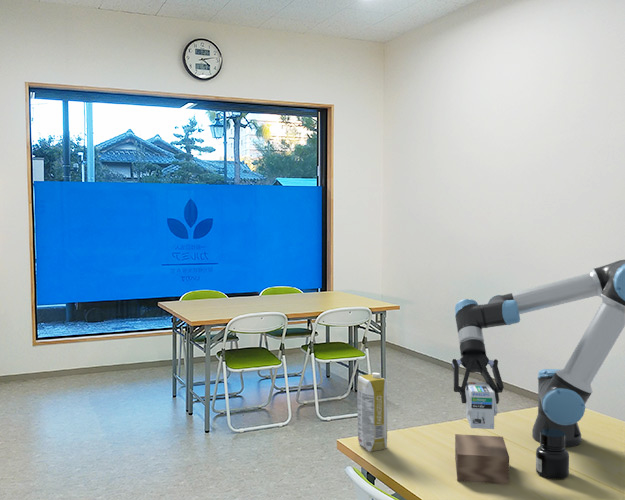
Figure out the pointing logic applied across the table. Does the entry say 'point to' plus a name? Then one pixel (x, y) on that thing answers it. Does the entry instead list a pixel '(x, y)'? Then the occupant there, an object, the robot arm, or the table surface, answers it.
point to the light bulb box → (481, 405)
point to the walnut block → (481, 459)
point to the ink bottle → (552, 455)
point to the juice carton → (372, 411)
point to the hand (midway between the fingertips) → (482, 413)
